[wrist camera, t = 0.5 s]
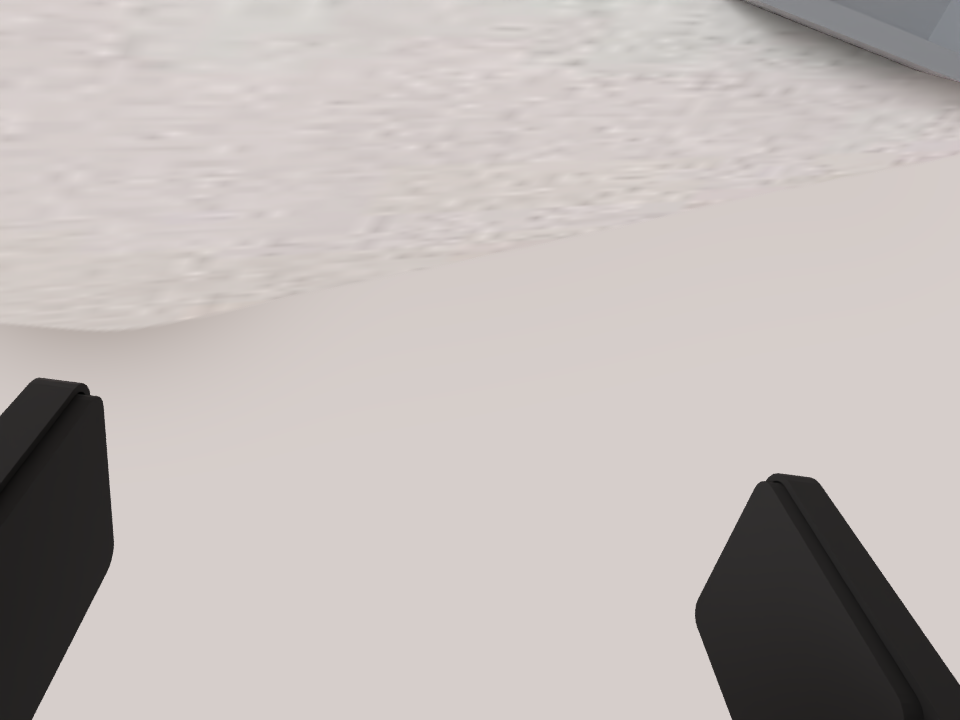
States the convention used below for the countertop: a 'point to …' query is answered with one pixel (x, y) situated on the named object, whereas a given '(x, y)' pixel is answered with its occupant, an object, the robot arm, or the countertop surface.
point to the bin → (886, 28)
